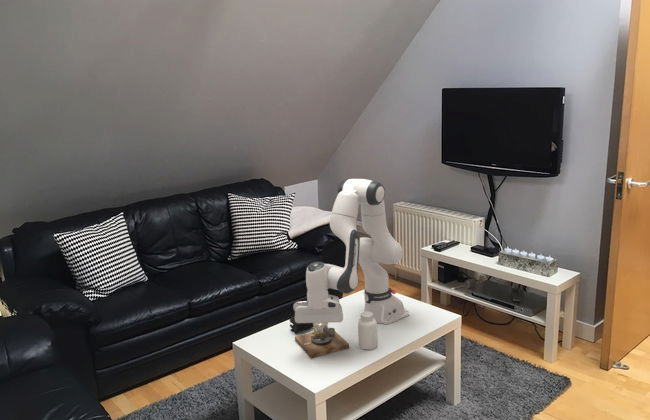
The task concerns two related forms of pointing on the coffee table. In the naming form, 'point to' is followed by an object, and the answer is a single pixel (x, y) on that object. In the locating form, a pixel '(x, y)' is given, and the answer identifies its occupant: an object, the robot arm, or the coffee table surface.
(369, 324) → the pill bottle
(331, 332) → the crank handle
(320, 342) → the post collar
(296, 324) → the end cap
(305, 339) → the base plate
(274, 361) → the coffee table surface
